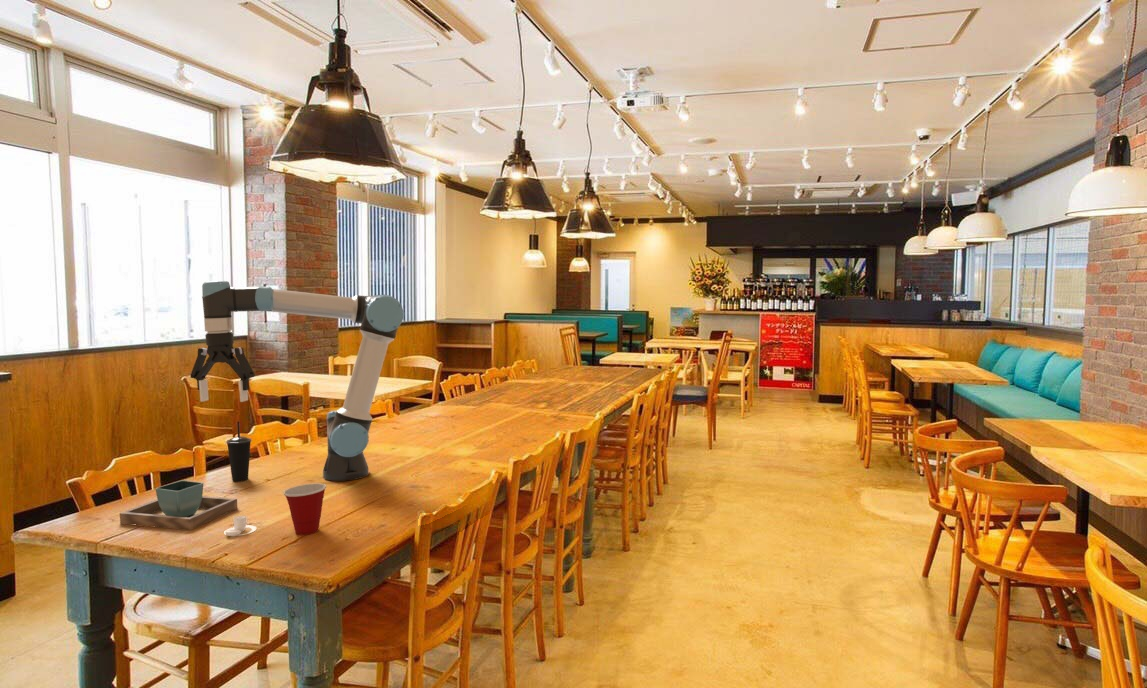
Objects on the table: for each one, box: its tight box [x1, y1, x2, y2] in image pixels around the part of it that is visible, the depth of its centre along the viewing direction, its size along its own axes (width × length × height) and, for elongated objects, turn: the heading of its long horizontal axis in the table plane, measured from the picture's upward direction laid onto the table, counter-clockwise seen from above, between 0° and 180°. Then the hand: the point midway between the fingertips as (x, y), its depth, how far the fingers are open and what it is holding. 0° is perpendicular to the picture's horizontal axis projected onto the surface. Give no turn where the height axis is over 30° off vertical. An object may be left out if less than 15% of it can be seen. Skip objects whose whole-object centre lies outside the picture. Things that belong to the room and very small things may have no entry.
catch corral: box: [119, 495, 238, 531], centre depth 193 cm, size 22×18×3 cm
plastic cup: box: [282, 482, 327, 536], centre depth 181 cm, size 11×11×12 cm
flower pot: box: [155, 480, 205, 517], centre depth 193 cm, size 9×9×9 cm
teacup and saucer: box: [223, 515, 258, 537], centre depth 181 cm, size 9×8×4 cm
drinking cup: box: [226, 421, 252, 483], centre depth 229 cm, size 8×8×20 cm
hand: (224, 401), depth 207 cm, fingers open, 13 cm apart
